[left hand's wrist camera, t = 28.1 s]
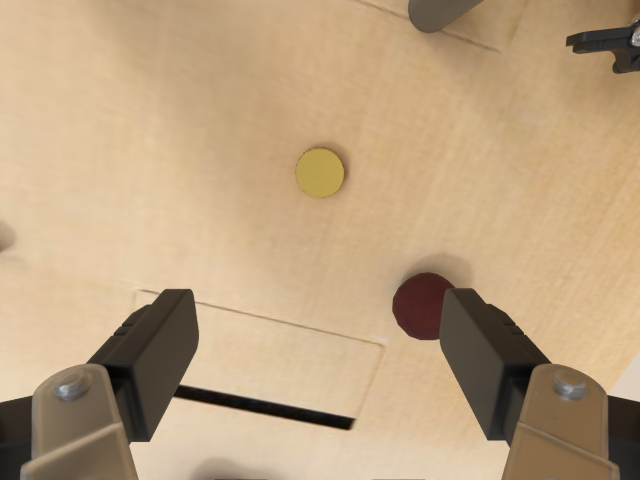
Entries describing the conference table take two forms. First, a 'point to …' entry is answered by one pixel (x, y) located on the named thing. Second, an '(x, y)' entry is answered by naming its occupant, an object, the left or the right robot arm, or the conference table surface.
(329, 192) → the lid
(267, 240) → the conference table surface
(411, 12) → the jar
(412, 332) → the potato
